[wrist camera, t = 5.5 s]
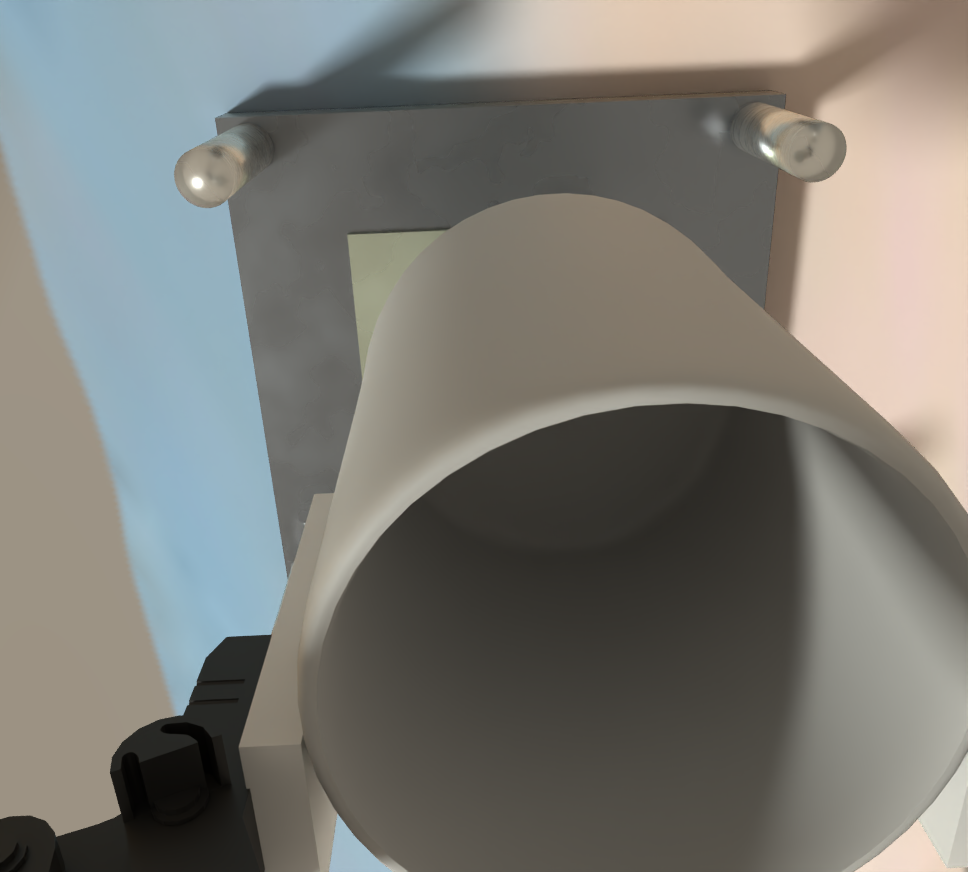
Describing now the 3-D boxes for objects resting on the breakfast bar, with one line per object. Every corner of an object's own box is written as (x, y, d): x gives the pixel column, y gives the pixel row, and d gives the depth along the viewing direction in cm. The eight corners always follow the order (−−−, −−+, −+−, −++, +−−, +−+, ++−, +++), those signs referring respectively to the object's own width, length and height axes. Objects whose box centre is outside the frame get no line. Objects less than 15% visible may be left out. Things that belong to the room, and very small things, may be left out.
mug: (358, 189, 19) (249, 374, 9) (762, 189, 19) (1108, 367, 9) (382, 655, 24) (330, 1113, 14) (702, 649, 24) (882, 1096, 14)
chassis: (225, 113, 31) (160, 142, 24) (772, 90, 31) (858, 113, 24) (295, 571, 39) (261, 688, 32) (727, 552, 39) (783, 664, 33)
